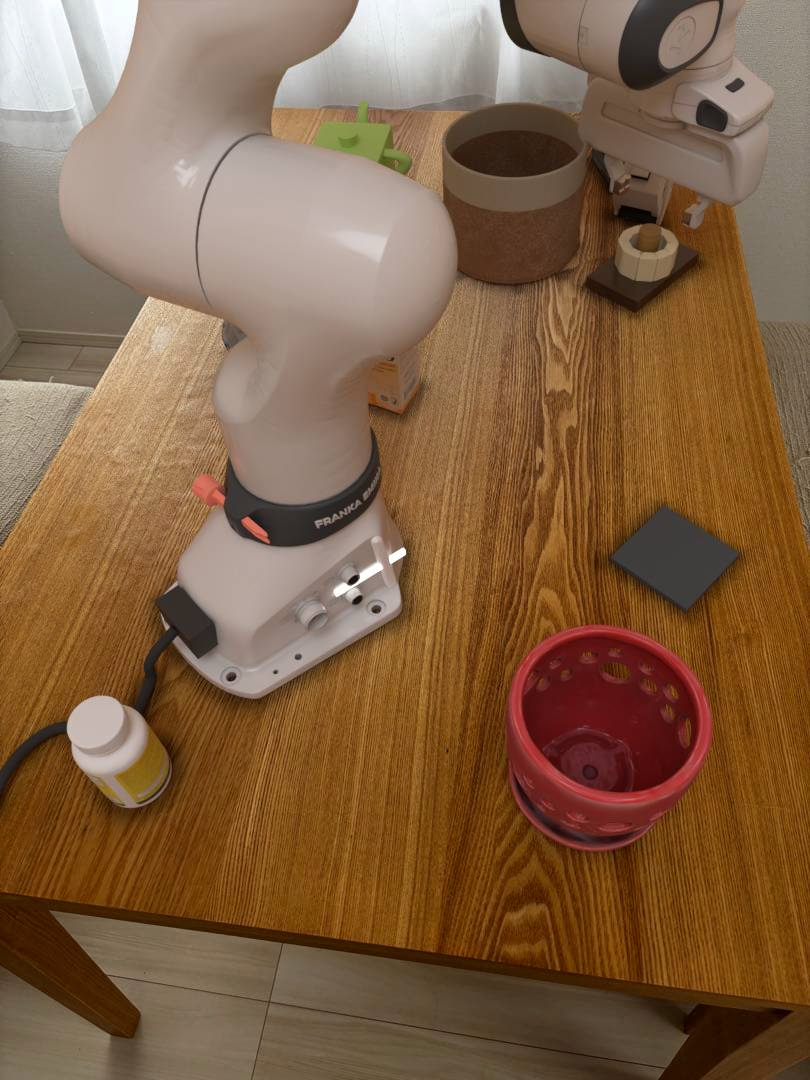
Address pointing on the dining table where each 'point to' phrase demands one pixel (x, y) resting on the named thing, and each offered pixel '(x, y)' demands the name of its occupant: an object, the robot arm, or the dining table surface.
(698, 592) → the mat
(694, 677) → the flower pot
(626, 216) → the grey boxy gadget
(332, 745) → the dining table surface
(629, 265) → the tape roll
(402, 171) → the teapot
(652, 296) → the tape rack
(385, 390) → the supplement box
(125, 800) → the supplement bottle
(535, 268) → the planter
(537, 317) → the dining table surface
